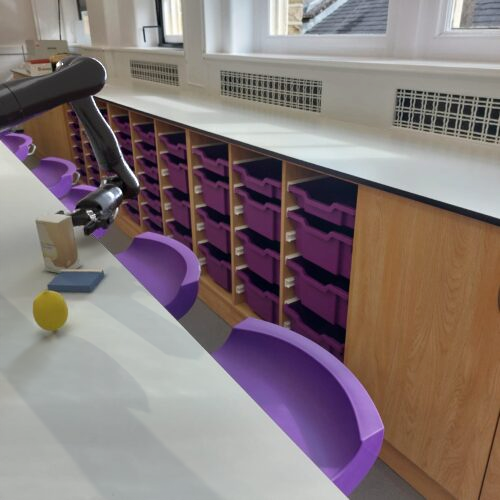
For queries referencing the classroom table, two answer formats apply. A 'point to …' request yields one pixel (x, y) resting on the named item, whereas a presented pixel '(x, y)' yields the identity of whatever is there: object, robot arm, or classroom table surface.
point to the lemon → (50, 310)
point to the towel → (76, 280)
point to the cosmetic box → (57, 242)
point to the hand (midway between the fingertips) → (67, 231)
